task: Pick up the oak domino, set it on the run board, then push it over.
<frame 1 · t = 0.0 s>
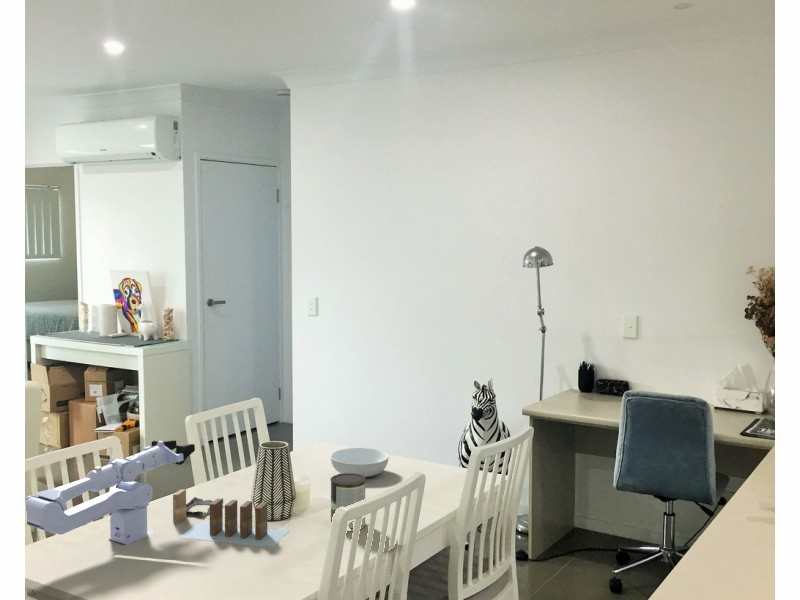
hand: (184, 445, 232), 22 cm above the table, tool horizontal, fingers open, 7 cm apart
domino 5: (261, 536, 217), point 1 cm above the table, touching run board
oak domino: (179, 521, 229), on the table
domino 3: (231, 533, 219), point 1 cm above the table, touching run board
coffee can: (347, 526, 228), on the table
domino 2: (216, 532, 220), point 1 cm above the table, touching run board
serving bowl: (359, 474, 279), on the table
run board: (234, 536, 218), on the table
domino 4: (246, 535, 218), point 1 cm above the table, touching run board
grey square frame: (200, 512, 239), on the table
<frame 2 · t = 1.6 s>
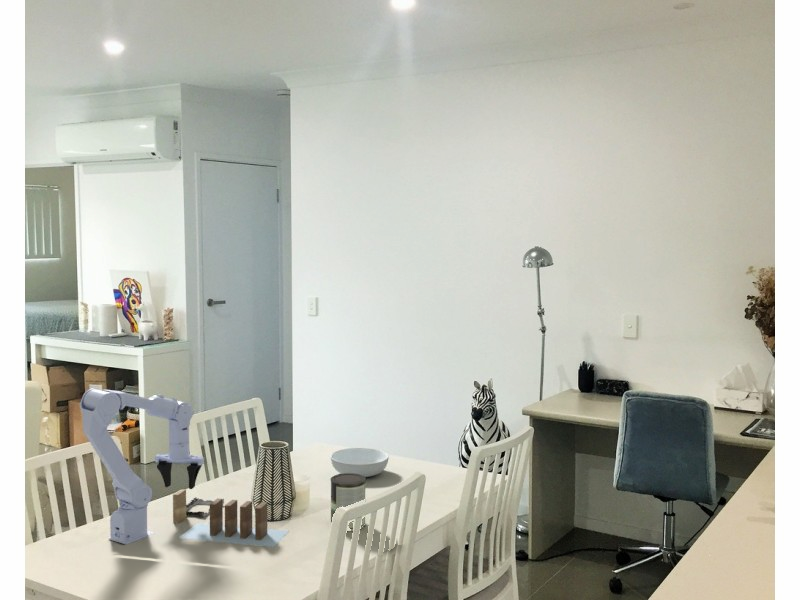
hand: (179, 487, 229), 10 cm above the table, tool pointing down, fingers open, 7 cm apart
nothing on the table moved.
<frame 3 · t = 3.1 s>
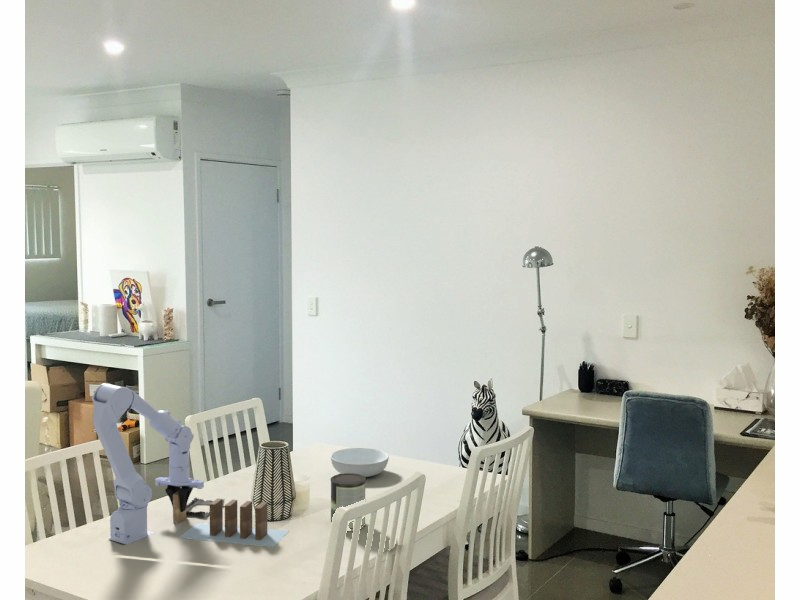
hand: (179, 510, 229), 3 cm above the table, tool pointing down, fingers closed on oak domino, 2 cm apart
oak domino: (179, 521, 229), on the table, touching gripper
everything else where it was.
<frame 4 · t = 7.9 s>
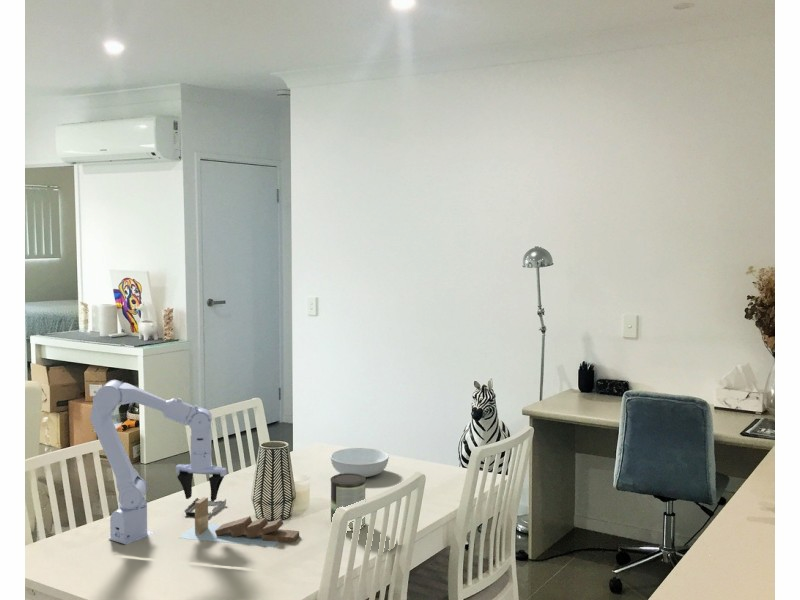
hand: (201, 499, 220), 10 cm above the table, tool pointing down, fingers open, 7 cm apart
domino 5: (265, 534, 217), point 1 cm above the table, tilted 90°, touching domino 4, run board
oak domino: (201, 531, 220), point 1 cm above the table, touching run board
domino 3: (235, 531, 218), point 1 cm above the table, tilted 69°, touching domino 2, domino 4, run board
domino 2: (219, 530, 219), point 1 cm above the table, tilted 70°, touching domino 3, run board
domino 4: (250, 532, 217), point 1 cm above the table, tilted 69°, touching domino 3, domino 5
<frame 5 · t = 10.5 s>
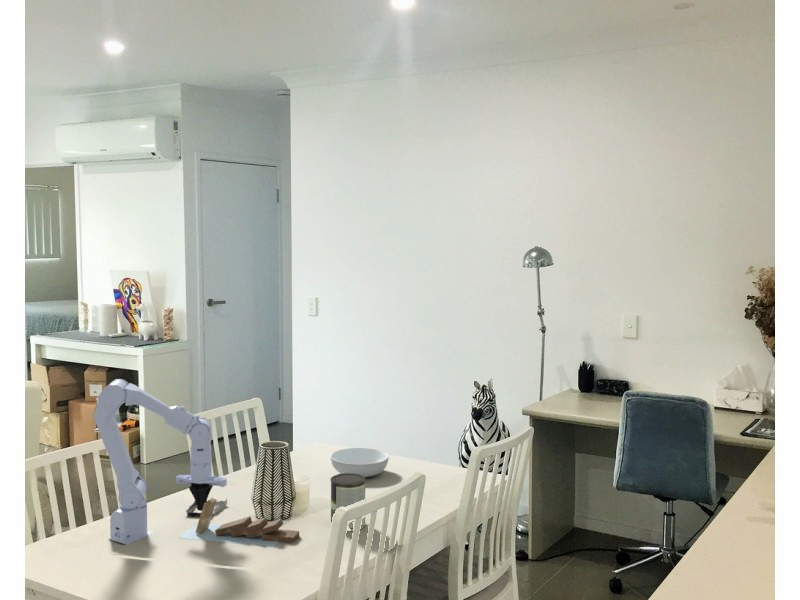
hand: (201, 509, 220), 7 cm above the table, tool pointing down, fingers closed
oak domino: (201, 530, 220), point 1 cm above the table, tilted 18°, touching run board
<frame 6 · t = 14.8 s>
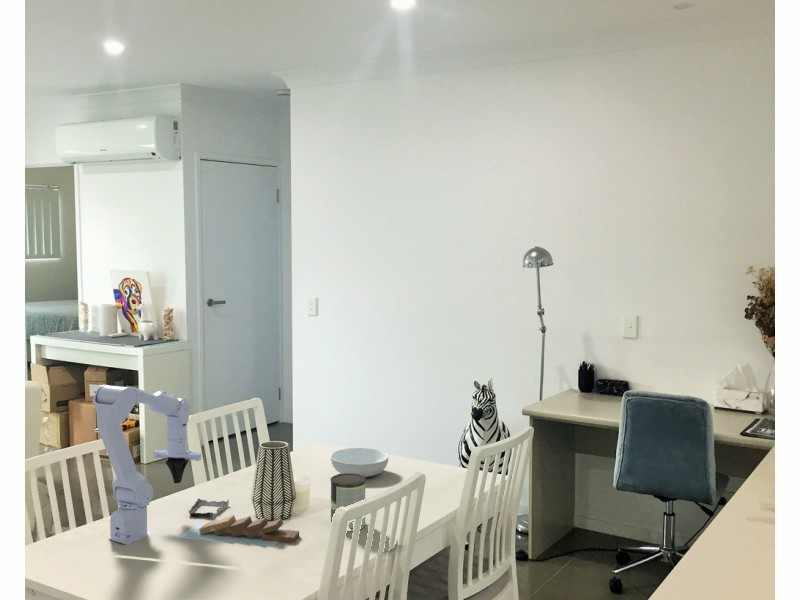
hand: (177, 482, 233), 10 cm above the table, tool pointing down, fingers closed
oak domino: (203, 528, 220), point 1 cm above the table, tilted 70°, touching domino 2, run board
domino 2: (219, 530, 219), point 1 cm above the table, tilted 70°, touching domino 3, oak domino, run board
at the end: oak domino tilted 70°; domino 5 tilted 90° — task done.
